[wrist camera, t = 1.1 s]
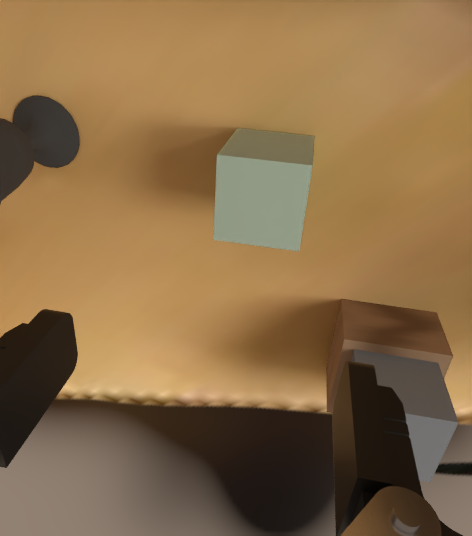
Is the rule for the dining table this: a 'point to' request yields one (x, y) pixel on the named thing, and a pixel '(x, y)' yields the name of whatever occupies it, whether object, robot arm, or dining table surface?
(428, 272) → the dining table surface
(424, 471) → the cube
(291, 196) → the block
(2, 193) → the sundae
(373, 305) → the plinth
